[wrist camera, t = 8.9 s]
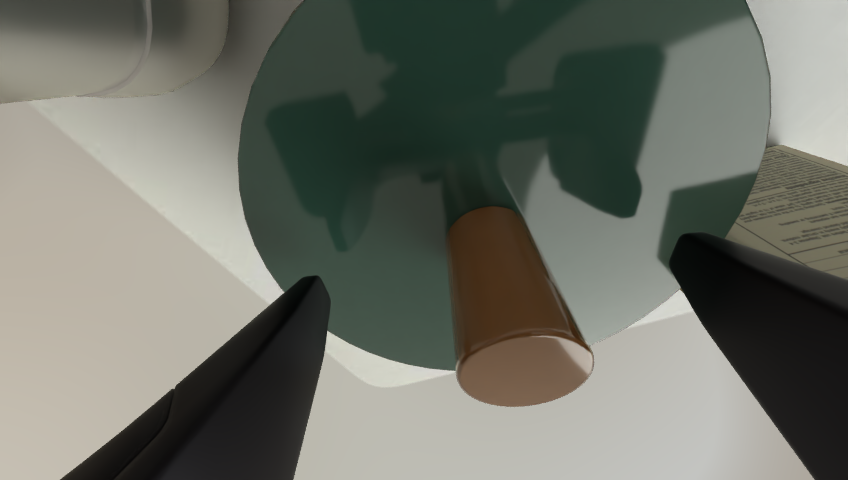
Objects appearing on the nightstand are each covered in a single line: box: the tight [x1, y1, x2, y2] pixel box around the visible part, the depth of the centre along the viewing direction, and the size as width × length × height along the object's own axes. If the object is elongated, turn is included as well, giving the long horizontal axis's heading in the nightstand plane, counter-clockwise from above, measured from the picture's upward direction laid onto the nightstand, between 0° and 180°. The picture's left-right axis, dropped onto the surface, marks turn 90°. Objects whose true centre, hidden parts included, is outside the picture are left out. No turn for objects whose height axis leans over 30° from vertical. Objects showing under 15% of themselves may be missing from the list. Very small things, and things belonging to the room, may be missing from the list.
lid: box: [238, 0, 771, 407], centre depth 7 cm, size 13×13×5 cm
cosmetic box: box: [680, 145, 848, 293], centre depth 10 cm, size 6×4×12 cm
